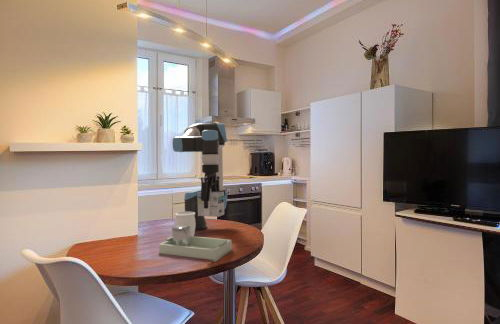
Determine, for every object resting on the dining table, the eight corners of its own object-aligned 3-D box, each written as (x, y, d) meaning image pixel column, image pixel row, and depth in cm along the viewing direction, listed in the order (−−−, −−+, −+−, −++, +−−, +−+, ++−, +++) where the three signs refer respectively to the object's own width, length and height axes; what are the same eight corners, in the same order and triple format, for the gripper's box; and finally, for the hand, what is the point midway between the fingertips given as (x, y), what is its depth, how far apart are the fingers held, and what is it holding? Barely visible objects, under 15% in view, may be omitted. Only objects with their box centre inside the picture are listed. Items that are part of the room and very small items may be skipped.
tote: (180, 245, 155) (180, 233, 155) (232, 250, 145) (231, 237, 145) (158, 255, 140) (158, 241, 139) (215, 262, 129) (214, 247, 129)
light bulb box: (224, 214, 144) (224, 191, 144) (218, 217, 137) (218, 192, 137) (203, 213, 147) (203, 190, 147) (197, 216, 141) (196, 192, 141)
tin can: (178, 245, 150) (178, 225, 150) (193, 247, 148) (193, 226, 147) (168, 250, 143) (168, 228, 143) (183, 252, 140) (183, 230, 140)
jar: (191, 245, 155) (190, 215, 155) (171, 244, 157) (171, 214, 157) (198, 239, 165) (198, 211, 165) (180, 238, 167) (180, 211, 167)
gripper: (212, 163, 153) (213, 210, 153) (191, 164, 134) (192, 217, 134) (226, 163, 150) (227, 211, 150) (207, 164, 132) (208, 218, 132)
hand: (211, 214), depth 142 cm, fingers closed on light bulb box, 7 cm apart
